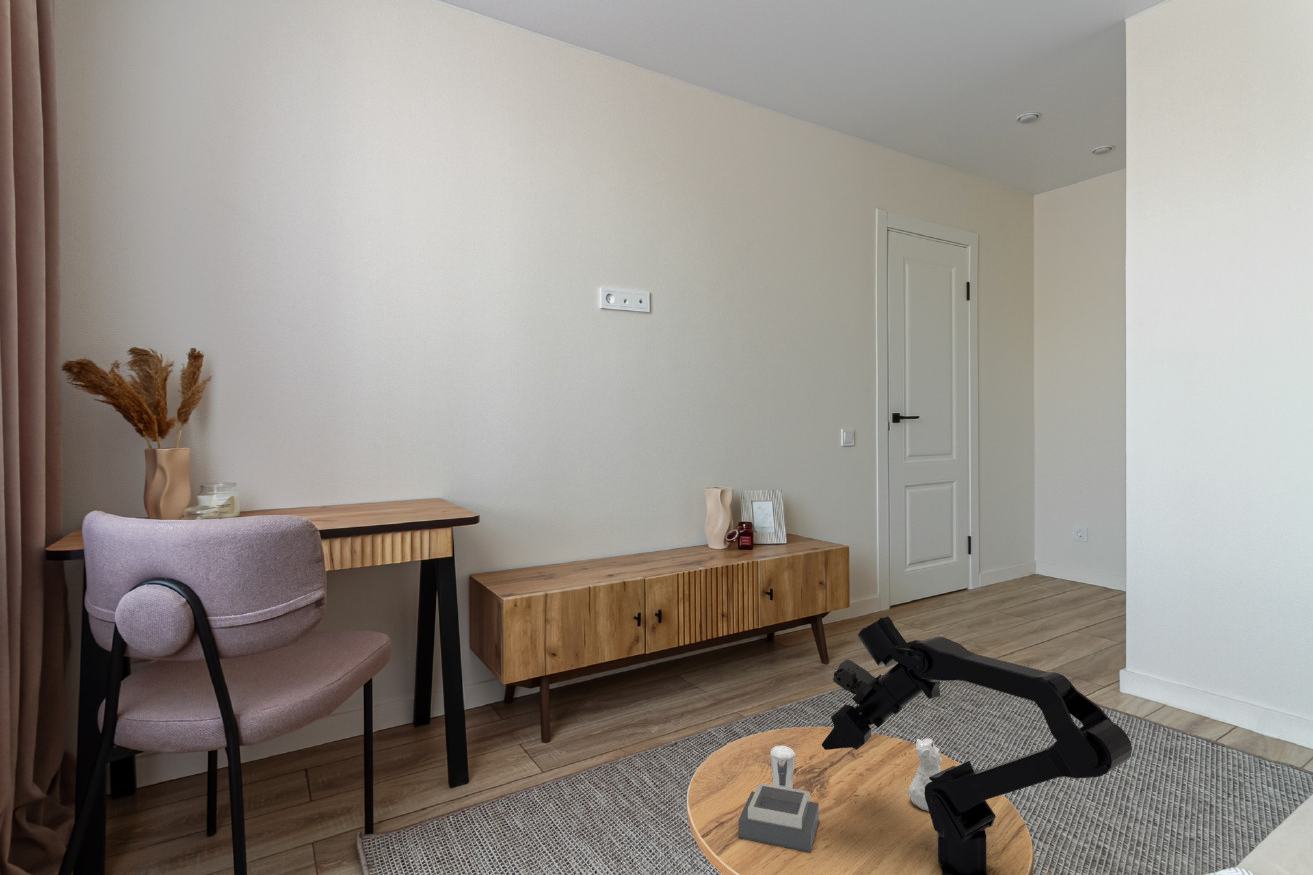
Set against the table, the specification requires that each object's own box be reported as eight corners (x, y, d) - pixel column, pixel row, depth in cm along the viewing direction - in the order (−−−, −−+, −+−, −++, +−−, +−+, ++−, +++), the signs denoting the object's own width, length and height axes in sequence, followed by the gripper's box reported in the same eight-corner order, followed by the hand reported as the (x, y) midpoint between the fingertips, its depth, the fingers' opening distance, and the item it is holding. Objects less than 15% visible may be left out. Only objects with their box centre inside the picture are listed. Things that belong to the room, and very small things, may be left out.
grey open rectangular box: (818, 820, 121) (818, 791, 121) (810, 852, 112) (810, 821, 112) (751, 807, 125) (751, 780, 125) (738, 837, 116) (738, 808, 116)
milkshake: (799, 804, 126) (799, 749, 126) (770, 801, 128) (769, 747, 128) (799, 791, 131) (799, 739, 131) (771, 789, 132) (770, 737, 132)
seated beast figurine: (966, 821, 121) (966, 753, 121) (916, 819, 121) (915, 751, 121) (949, 793, 130) (948, 730, 130) (902, 791, 131) (901, 728, 131)
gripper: (879, 636, 128) (822, 683, 134) (842, 664, 113) (781, 715, 119) (923, 688, 123) (862, 734, 130) (891, 723, 108) (825, 774, 114)
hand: (833, 737), depth 123 cm, fingers open, 9 cm apart
